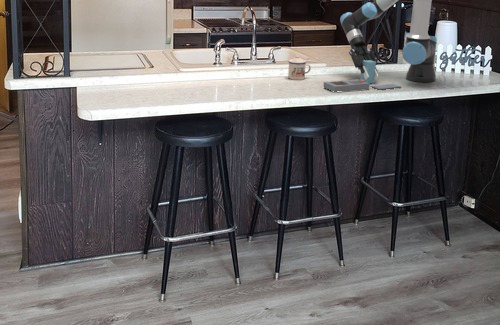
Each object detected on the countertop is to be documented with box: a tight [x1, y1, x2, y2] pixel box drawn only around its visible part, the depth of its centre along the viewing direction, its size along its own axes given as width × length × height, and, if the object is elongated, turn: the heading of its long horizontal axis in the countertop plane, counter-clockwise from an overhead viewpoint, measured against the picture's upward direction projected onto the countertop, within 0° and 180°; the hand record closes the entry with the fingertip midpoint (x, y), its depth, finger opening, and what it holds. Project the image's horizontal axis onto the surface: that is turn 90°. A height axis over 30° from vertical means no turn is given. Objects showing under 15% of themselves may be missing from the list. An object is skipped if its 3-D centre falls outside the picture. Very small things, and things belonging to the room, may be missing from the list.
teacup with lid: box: [287, 55, 312, 81], centre depth 335 cm, size 12×9×12 cm
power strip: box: [322, 78, 371, 93], centre depth 316 cm, size 20×10×4 cm, turn 116°
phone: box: [369, 83, 402, 91], centre depth 321 cm, size 14×7×1 cm, turn 119°
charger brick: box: [359, 59, 377, 84], centre depth 329 cm, size 5×5×11 cm
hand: (371, 77), depth 327 cm, fingers closed on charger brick, 5 cm apart
